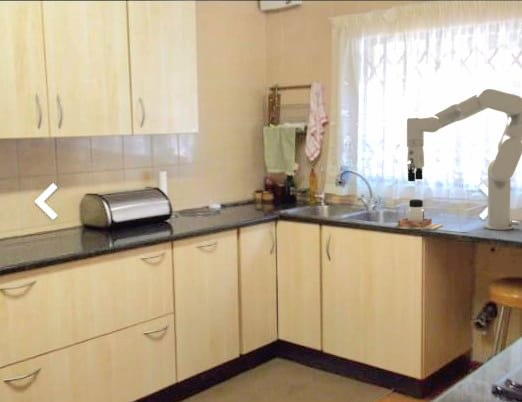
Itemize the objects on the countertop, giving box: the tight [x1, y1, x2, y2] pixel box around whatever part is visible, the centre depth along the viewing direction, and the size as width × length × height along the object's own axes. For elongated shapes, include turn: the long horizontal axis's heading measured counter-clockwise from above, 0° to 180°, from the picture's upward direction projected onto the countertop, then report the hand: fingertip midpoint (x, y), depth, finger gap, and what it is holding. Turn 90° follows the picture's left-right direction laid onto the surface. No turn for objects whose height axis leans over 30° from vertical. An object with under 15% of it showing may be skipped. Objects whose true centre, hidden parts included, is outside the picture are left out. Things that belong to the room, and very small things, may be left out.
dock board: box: [395, 216, 444, 232], centre depth 304 cm, size 18×14×4 cm
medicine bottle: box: [407, 199, 425, 222], centre depth 304 cm, size 7×7×12 cm
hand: (415, 180), depth 302 cm, fingers open, 9 cm apart
